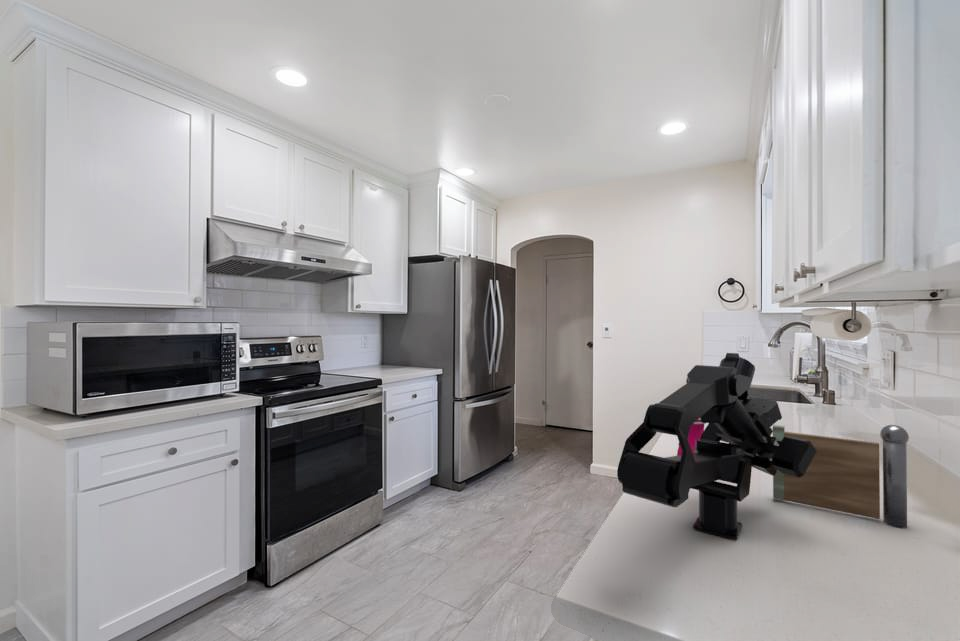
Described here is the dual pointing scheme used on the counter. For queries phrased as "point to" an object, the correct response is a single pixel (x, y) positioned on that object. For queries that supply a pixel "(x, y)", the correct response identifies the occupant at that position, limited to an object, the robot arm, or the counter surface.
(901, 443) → the gate post
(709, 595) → the counter surface
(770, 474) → the robot arm
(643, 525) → the counter surface
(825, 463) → the gate
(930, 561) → the counter surface
